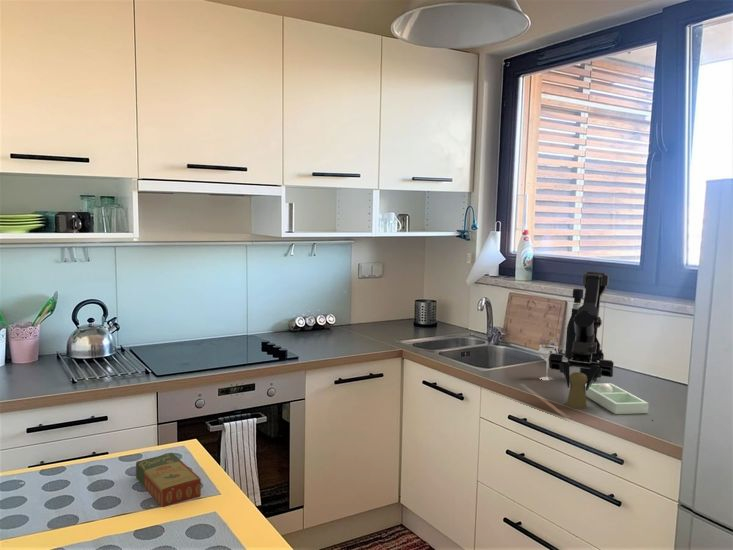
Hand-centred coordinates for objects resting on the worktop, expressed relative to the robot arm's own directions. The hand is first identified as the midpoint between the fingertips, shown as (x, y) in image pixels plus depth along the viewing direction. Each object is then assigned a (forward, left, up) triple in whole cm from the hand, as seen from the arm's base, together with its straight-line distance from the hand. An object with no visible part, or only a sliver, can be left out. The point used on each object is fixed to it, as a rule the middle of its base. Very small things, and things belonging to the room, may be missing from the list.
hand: (577, 388), depth 180 cm
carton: (+40, -112, -7) cm, 120 cm away
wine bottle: (-51, +26, -7) cm, 58 cm away
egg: (-8, +14, -6) cm, 17 cm away
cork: (-1, +1, -7) cm, 7 cm away
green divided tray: (-3, +14, -7) cm, 16 cm away
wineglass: (-32, +6, -7) cm, 33 cm away
